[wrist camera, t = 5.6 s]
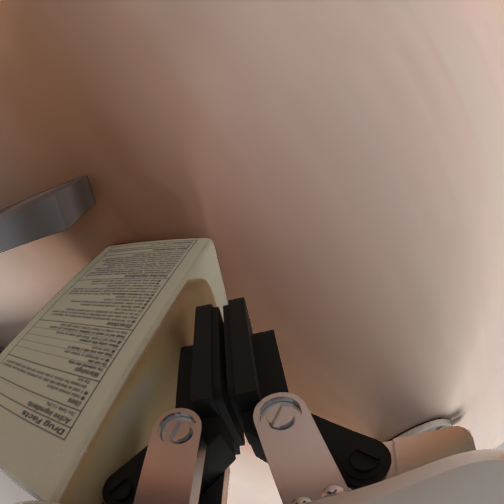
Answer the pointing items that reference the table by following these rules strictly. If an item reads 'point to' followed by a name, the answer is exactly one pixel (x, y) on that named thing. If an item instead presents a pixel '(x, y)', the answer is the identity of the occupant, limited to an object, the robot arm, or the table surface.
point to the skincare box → (101, 366)
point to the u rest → (45, 213)
